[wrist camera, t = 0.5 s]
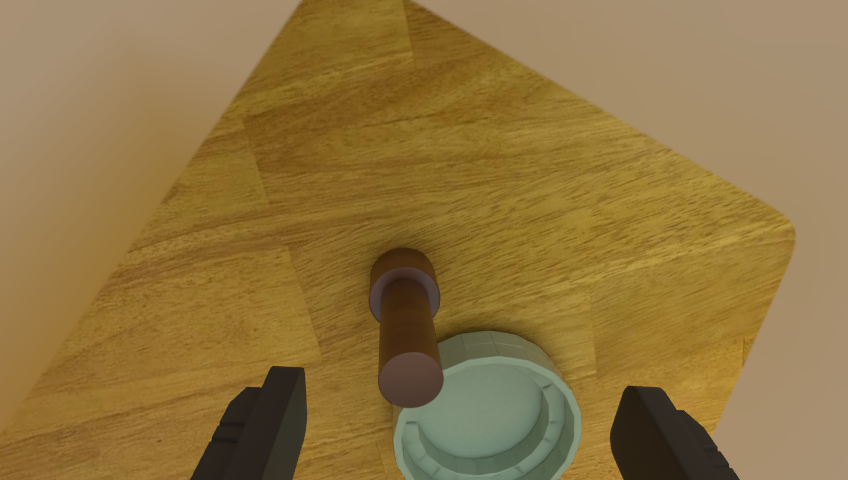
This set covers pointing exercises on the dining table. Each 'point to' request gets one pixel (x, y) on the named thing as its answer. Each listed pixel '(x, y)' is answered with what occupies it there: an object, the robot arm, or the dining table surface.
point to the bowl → (490, 415)
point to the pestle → (406, 327)
